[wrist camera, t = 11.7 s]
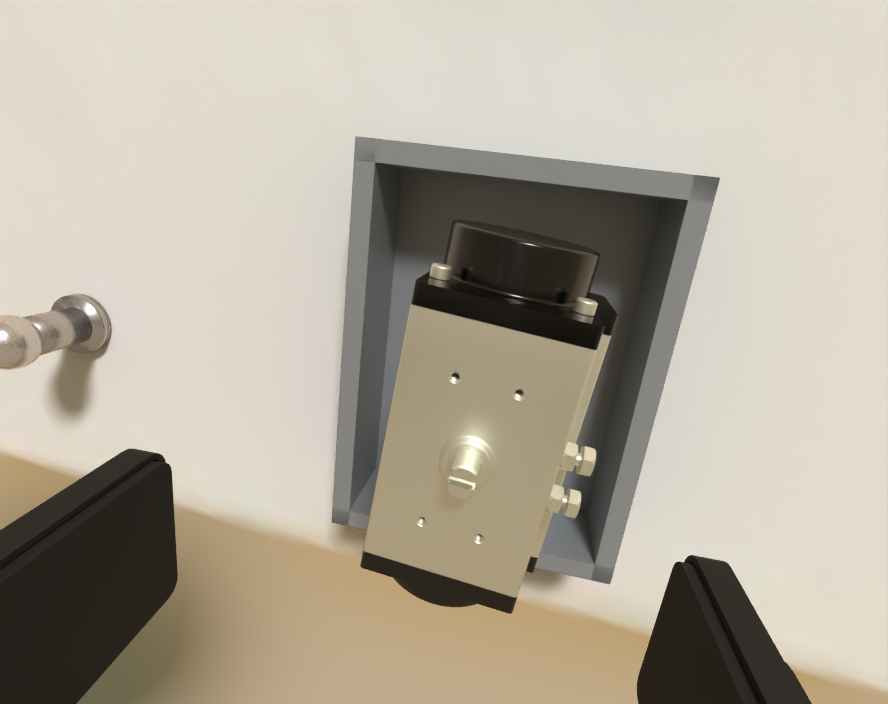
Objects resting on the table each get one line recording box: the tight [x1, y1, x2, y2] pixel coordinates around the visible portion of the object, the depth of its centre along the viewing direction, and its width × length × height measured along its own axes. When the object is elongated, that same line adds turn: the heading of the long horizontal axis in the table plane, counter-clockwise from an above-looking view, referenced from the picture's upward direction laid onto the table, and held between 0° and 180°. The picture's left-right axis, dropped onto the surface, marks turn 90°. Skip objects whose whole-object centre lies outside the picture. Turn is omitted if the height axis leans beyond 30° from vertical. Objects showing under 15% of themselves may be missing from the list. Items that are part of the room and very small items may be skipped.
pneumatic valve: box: [360, 219, 618, 614], centre depth 18 cm, size 6×12×12 cm, turn 168°
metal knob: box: [0, 294, 111, 370], centre depth 25 cm, size 3×3×6 cm
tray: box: [332, 137, 720, 584], centre depth 22 cm, size 13×17×5 cm
